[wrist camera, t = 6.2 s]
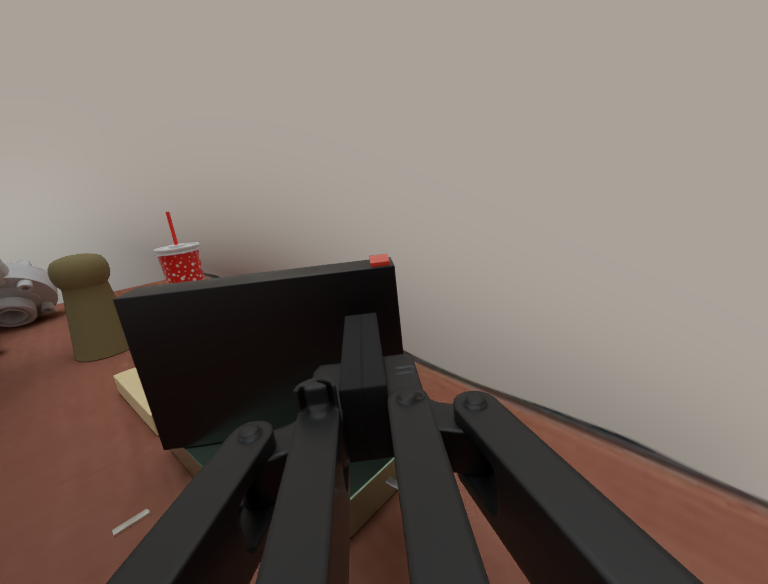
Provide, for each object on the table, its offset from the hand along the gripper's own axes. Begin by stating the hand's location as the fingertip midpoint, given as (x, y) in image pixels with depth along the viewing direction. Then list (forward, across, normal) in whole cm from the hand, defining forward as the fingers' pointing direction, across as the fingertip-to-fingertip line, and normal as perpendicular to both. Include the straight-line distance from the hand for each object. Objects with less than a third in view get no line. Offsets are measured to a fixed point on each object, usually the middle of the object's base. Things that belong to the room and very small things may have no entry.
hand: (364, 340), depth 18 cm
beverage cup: (+40, -27, -8) cm, 49 cm away
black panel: (+3, -5, -6) cm, 8 cm away
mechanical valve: (+35, -50, -8) cm, 61 cm away
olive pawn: (+24, -30, -8) cm, 40 cm away
